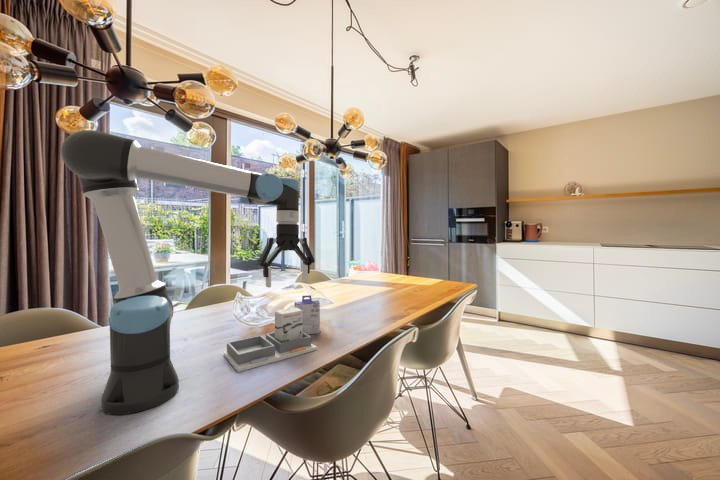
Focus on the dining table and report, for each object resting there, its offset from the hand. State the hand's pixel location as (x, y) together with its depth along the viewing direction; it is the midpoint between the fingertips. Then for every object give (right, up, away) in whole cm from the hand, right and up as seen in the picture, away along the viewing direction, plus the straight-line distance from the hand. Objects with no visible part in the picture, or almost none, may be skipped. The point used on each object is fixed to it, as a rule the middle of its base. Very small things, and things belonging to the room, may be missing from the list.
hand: (287, 284), depth 103 cm
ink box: (0, -21, +1) cm, 21 cm away
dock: (-4, -22, -4) cm, 23 cm away
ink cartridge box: (+4, -22, +16) cm, 27 cm away
